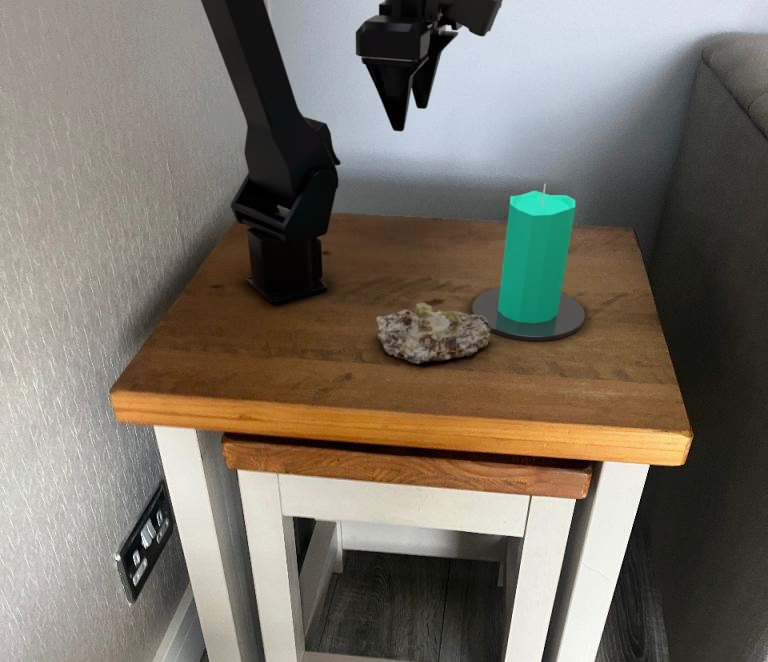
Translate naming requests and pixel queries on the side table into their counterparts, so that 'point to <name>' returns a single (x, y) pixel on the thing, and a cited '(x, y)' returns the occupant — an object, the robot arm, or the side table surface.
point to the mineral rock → (432, 334)
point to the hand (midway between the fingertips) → (410, 119)
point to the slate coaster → (556, 328)
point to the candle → (535, 256)
